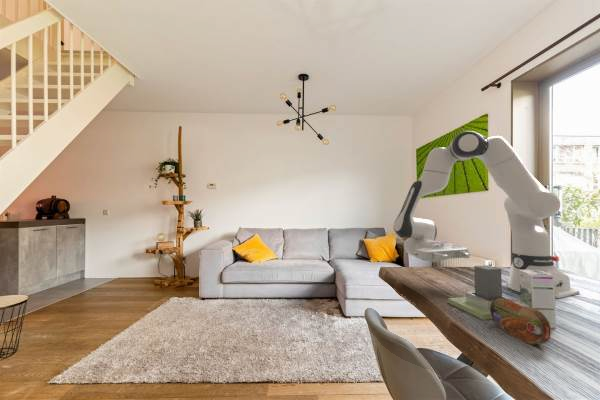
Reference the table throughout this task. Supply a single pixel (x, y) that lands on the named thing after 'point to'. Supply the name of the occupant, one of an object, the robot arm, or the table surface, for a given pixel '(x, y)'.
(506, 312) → the tin
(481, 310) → the deck plate
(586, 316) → the table surface
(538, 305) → the syrup box
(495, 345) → the table surface
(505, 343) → the table surface
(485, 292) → the chute block
